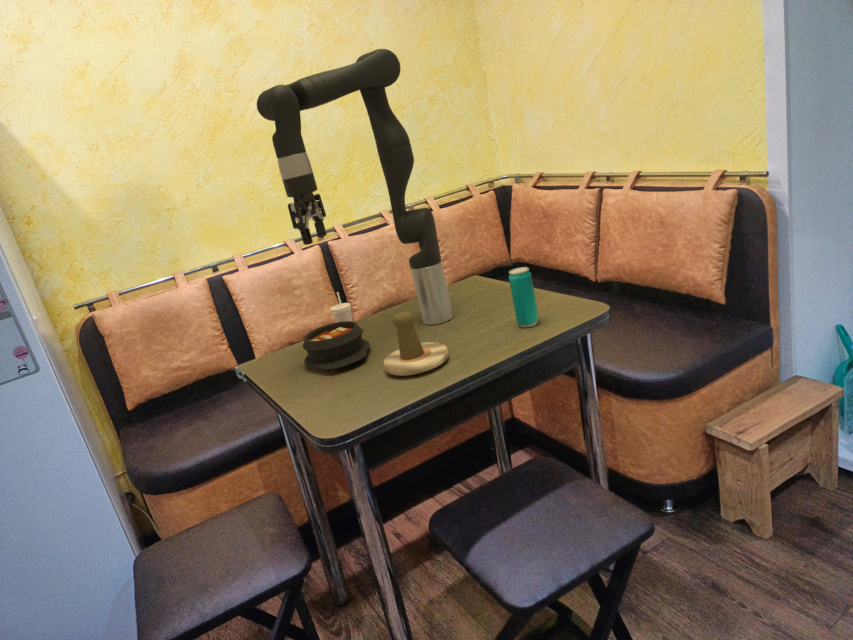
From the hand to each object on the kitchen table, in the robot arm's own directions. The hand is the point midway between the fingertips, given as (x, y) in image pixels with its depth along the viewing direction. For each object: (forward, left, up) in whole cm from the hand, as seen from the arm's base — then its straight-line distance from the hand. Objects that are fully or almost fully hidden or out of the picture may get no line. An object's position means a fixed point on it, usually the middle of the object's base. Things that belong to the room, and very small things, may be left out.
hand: (315, 240), depth 148 cm
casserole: (-6, -6, -34) cm, 35 cm away
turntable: (+5, +20, -34) cm, 40 cm away
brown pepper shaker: (+5, +19, -32) cm, 37 cm away
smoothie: (-24, -10, -34) cm, 43 cm away
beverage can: (-14, +46, -34) cm, 59 cm away
